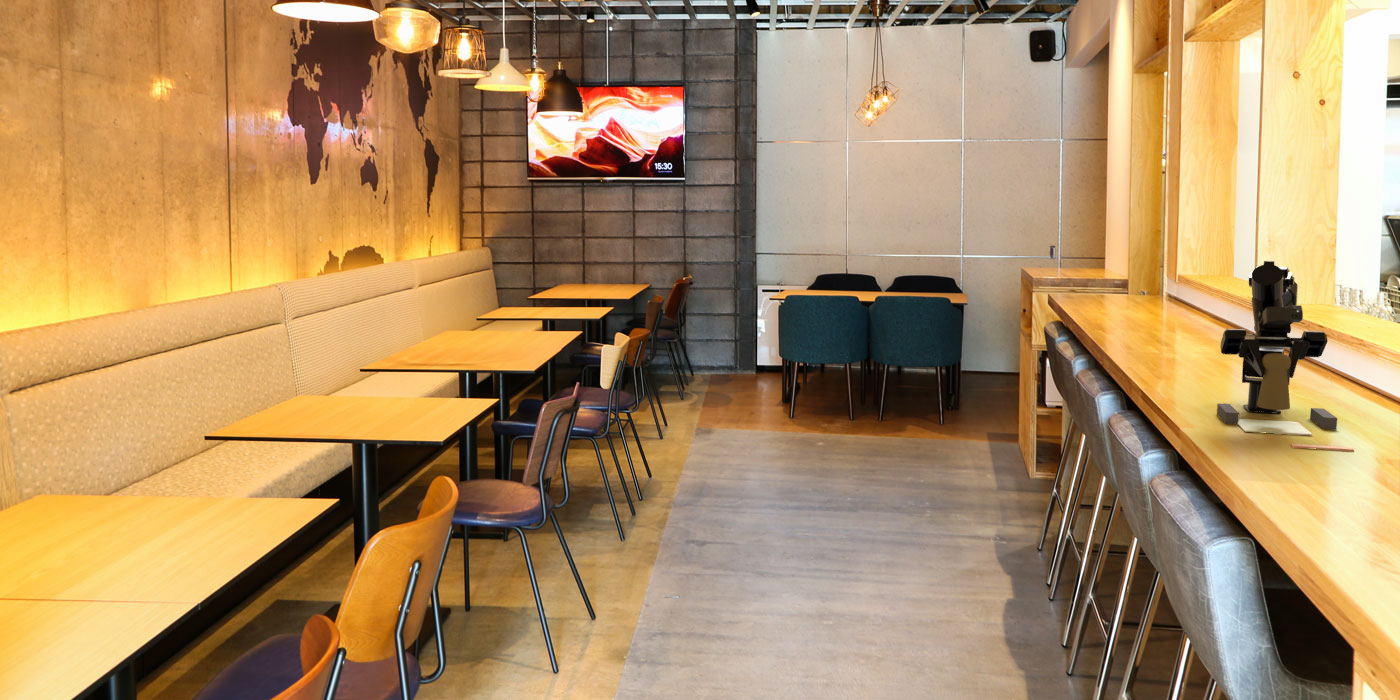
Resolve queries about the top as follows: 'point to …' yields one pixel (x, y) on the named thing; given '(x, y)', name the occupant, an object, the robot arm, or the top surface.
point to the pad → (1273, 427)
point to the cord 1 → (1227, 413)
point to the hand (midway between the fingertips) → (1277, 376)
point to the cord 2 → (1323, 418)
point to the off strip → (1323, 447)
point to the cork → (1275, 382)
